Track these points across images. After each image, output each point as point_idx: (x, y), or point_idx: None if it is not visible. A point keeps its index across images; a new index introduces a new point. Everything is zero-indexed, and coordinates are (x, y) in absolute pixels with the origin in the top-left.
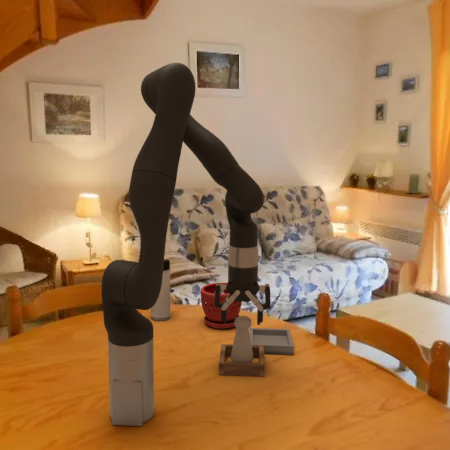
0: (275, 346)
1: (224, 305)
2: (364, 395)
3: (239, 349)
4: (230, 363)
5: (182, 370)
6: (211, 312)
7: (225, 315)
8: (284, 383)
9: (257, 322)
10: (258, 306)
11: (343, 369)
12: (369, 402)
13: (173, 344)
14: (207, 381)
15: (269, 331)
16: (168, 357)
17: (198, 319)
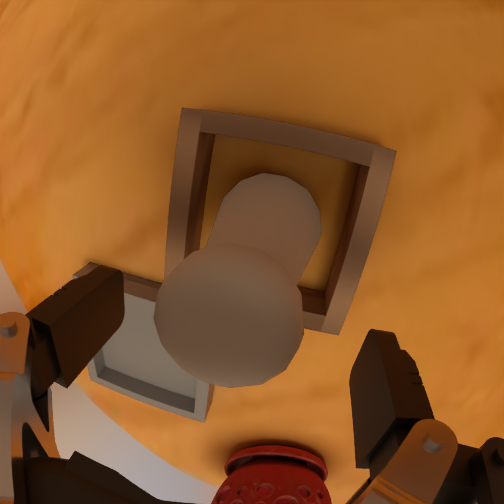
0: (125, 291)
1: (434, 469)
2: (4, 44)
3: (285, 200)
4: (342, 141)
5: (492, 212)
6: (315, 489)
7: (398, 379)
8: (142, 64)
9: (109, 274)
10: (6, 353)
11: (3, 164)
12: (9, 19)
13: (454, 383)
14: (429, 108)
15: (145, 392)
16: (499, 309)
17: (332, 480)
